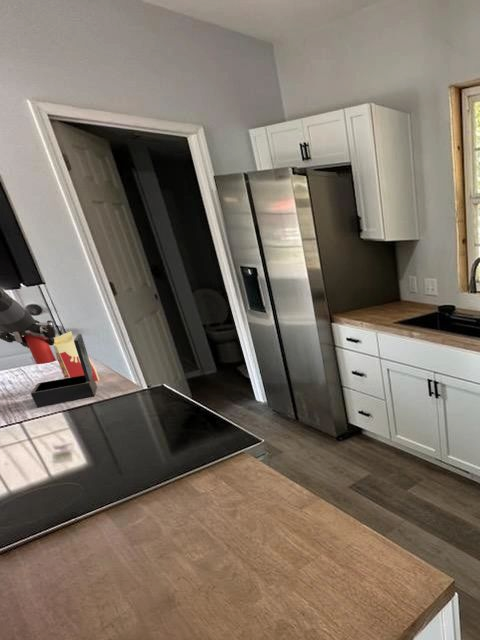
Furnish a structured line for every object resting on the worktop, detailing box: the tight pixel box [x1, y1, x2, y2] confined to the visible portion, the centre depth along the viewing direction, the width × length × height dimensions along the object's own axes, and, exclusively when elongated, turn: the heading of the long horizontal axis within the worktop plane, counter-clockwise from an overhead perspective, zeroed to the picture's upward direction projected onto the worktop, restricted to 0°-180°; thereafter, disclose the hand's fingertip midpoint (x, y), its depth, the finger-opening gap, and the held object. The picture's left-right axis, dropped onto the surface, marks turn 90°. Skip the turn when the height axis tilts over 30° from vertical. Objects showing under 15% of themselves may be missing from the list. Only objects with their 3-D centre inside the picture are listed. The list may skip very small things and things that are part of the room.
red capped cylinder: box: [23, 335, 57, 365], centre depth 132 cm, size 4×4×13 cm
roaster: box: [30, 375, 98, 409], centre depth 141 cm, size 14×14×6 cm
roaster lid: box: [74, 333, 93, 382], centre depth 142 cm, size 14×14×1 cm
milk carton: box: [52, 330, 100, 382], centre depth 154 cm, size 9×9×20 cm
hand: (40, 344), depth 133 cm, fingers closed on red capped cylinder, 4 cm apart
